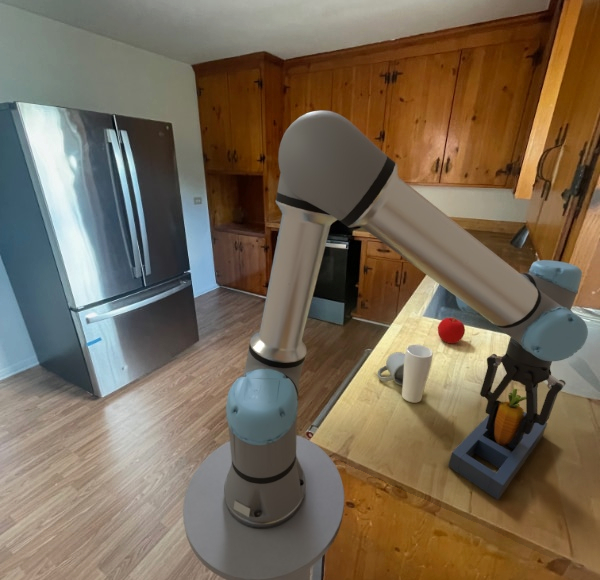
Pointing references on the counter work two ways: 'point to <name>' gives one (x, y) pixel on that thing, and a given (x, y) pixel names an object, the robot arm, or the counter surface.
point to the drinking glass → (416, 372)
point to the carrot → (508, 419)
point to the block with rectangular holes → (493, 457)
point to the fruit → (451, 330)
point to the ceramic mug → (393, 368)
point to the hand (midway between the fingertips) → (503, 433)
